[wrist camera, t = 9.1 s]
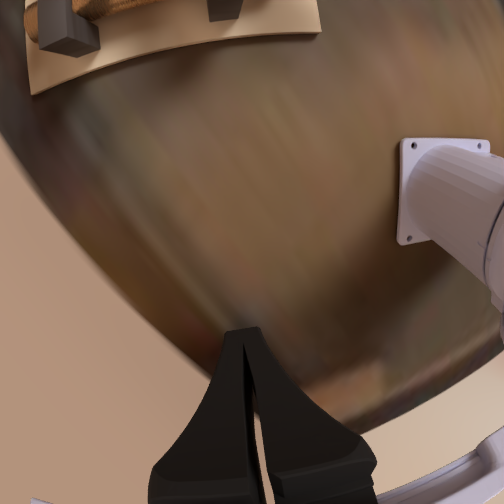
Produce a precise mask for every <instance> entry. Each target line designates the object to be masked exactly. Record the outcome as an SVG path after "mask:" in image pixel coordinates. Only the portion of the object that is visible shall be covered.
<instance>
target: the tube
mask: <svg viewBox="0 0 504 504" xmlns="http://www.w3.org/2000/svg"><path fill="white" fill-rule="evenodd" d="M158 1H163V0H72V12H73V13H75V14H77V15H79V16H80V17H82V18H84V19H86V20H88V21H89V22H93V21H95V20H98V19H101V18H104V17H107V16H110V15H112V14H116V13H119V12H122V11H125V10H128V9H132V8H135V7H139V6H143V5H146V4H150V3H154V2H158ZM24 27H25V30H26V33H27V35H28V37H29V38H30V39H31V40H32V41H33V42H34V43H36V44H39V41H38V17H37V1H35V2H33V3H31V4H30V5H28V6H27V8H26V10H25V12H24Z"/></svg>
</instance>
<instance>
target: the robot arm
mask: <svg viewBox="0 0 504 504" xmlns="http://www.w3.org/2000/svg"><path fill="white" fill-rule="evenodd" d="M412 143H414V147H413V148H411V144H412ZM408 236H410V237H409V238H408V239H407V237H408ZM428 240H433V241H434V242H436V243H437V244H438V245H439V246H441V247H442V248H443V249H444V250H445V251H447V252H448V253H449V254H450V255H452V256H453V257H454V258H455V259H456V260H457V261H459V262H460V263H461V264H462V265H463V266H465V267H466V268H467V269H468V270H469V271H470V272H471V273H473V274H474V275H475V276H476V277H477V278H478V279H479V280H480V281H482V282H483V283H484V284H485V285H486V286H487V287H488V288H489V289H490V290H491V293H492V297H491V303H492V304H493V305H494V306H495V307H496V308H497V309H498V310H499V311H500V312H501V313H502V314H501V317H500V333H501V338H502V340H503V343H504V158H502V157H499V156H496V155H493V154H491V153H490V143H489V141H487V140H483V139H462V138H404V139H402V140H401V142H400V188H399V211H398V227H397V242H398V243H399V244H400V245H407V244H412V243H417V242H423V241H428ZM252 385H253V387H252ZM253 389H254V393H255V396H256V400H257V404H258V409H259V416H260V423H261V430H262V437H263V445H264V452H265V460H266V467H267V472H268V476H269V480H270V483H271V486H272V490H273V494H274V500H275V504H484V503H485V502H487V501H488V500H489V499H491V498H492V497H494V496H495V495H497V494H498V493H499V492H501V491H502V490H503V489H504V426H503V427H501V428H500V429H498V430H497V431H495V432H494V433H492V434H491V435H489V436H488V437H486V438H485V439H484V440H483V441H482V442H481V443H480V444H479V445H478V446H477V447H476V449H474V450H473V451H471V452H469V453H468V454H466V455H464V456H462V457H461V458H459V459H457V460H455V461H453V462H452V463H450V464H448V465H446V466H444V467H442V468H440V469H438V470H436V471H434V472H432V473H430V474H428V475H426V476H424V477H421V478H419V479H417V480H414V481H412V482H410V483H408V484H405V485H403V486H400V487H398V488H395V489H393V490H390V491H388V492H385V493H382V494H379V495H377V496H376V495H375V492H374V489H373V485H374V482H373V480H372V477H371V474H372V472H373V470H374V468H375V467H376V465H377V460H376V457H375V455H374V453H373V452H372V450H371V448H370V447H369V445H368V444H367V443H366V441H365V440H364V439H363V437H362V436H360V435H359V434H357V433H355V432H353V431H352V430H350V429H349V428H347V427H346V426H344V425H342V424H341V423H340V422H338V421H337V420H335V419H334V418H333V417H331V416H330V415H329V414H328V413H326V412H325V411H324V410H323V409H321V408H320V407H319V406H318V405H317V404H315V403H314V402H313V401H312V400H311V399H310V398H309V397H308V396H307V395H306V394H305V393H304V392H303V391H302V390H301V389H300V388H299V387H298V386H297V385H296V384H295V383H294V381H293V380H292V379H291V378H290V377H289V375H288V374H287V373H286V372H285V370H284V369H283V368H282V366H281V365H280V364H279V362H278V361H277V359H276V358H275V356H274V355H273V353H272V352H271V350H270V348H269V347H268V345H267V343H266V341H265V339H264V337H263V335H262V332H261V329H260V328H259V327H251V328H245V329H239V330H233V331H227V332H226V333H225V334H224V340H223V345H222V350H221V353H220V357H219V360H218V363H217V366H216V369H215V372H214V374H213V377H212V379H211V382H210V384H209V387H208V389H207V391H206V393H205V395H204V397H203V399H202V402H201V403H200V405H199V407H198V409H197V411H196V412H195V414H194V416H193V417H192V419H191V420H190V422H189V423H188V425H187V427H186V428H185V429H184V431H183V432H182V434H181V435H180V436H179V438H178V439H177V440H176V441H175V443H174V444H173V445H172V447H171V448H170V449H169V450H168V451H167V452H166V453H165V454H164V456H163V457H162V458H161V459H160V460H159V461H158V462H157V463H156V464H155V465H154V466H153V468H152V471H151V475H150V480H149V485H148V504H267V503H266V498H265V492H264V487H263V481H262V476H261V470H260V464H259V458H258V452H257V446H256V439H255V429H254V408H253ZM30 504H52V503H49V502H46V501H42V500H39V499H36V498H31V503H30Z"/></svg>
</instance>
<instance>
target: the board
mask: <svg viewBox="0 0 504 504" xmlns="http://www.w3.org/2000/svg"><path fill="white" fill-rule="evenodd" d="M35 1H37V17H38V41H39V44H36V43H34V42H33V41H32V40H31V39H30V38H29V37H28V35H27V33H26V49H27V62H28V73H29V82H30V90H31V95H37V94H39V93H41V92H43V91H45V90H47V89H50V88H52V87H54V86H56V85H59V84H61V83H64V82H66V81H68V80H71V79H73V78H76V77H79V76H81V75H84V74H86V73H89V72H92V71H95V70H98V69H101V68H104V67H107V66H110V65H113V64H116V63H119V62H122V61H126V60H129V59H133V58H136V57H140V56H144V55H147V54H151V53H155V52H160V51H164V50H168V49H173V48H177V47H182V46H188V45H193V44H198V43H204V42H211V41H217V40H224V39H232V38H241V37H251V36H263V35H279V34H319V33H320V32H321V26H320V20H319V14H318V8H317V3H316V0H163V1H158V2H154V3H150V4H146V5H143V6H139V7H135V8H132V9H128V10H125V11H122V12H119V13H116V14H112V15H110V16H107V17H104V18H101V19H98V20H95V21H93V22H89V21H88V20H86V19H84V18H82V17H80V16H79V15H77V14H75V13H73V12H72V0H26V2H25V10H26V8H27V6H28V5H30V4H31V3H33V2H35Z"/></svg>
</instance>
